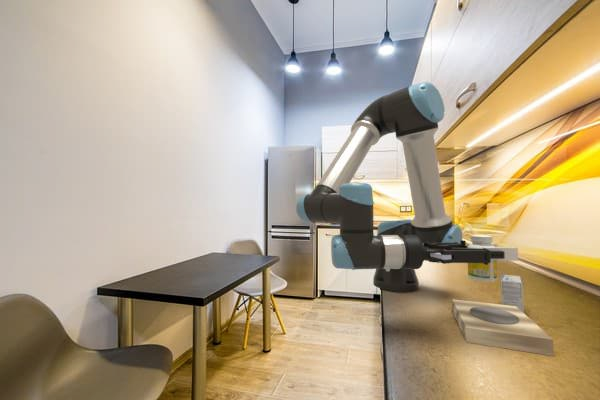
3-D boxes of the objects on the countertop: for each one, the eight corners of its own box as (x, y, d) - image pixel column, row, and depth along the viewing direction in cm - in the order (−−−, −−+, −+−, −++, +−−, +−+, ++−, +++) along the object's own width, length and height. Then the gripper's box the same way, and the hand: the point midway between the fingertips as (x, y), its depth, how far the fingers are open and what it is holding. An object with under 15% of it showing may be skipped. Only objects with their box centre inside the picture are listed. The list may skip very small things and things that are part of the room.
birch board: (452, 310, 72) (452, 297, 72) (516, 318, 66) (515, 304, 66) (466, 342, 55) (466, 325, 55) (553, 355, 50) (553, 337, 50)
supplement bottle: (480, 282, 56) (478, 237, 57) (462, 276, 62) (461, 234, 62) (503, 281, 57) (502, 236, 57) (484, 275, 62) (483, 234, 63)
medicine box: (524, 317, 67) (523, 282, 67) (501, 313, 70) (500, 279, 70) (522, 307, 73) (521, 276, 74) (501, 304, 76) (501, 273, 76)
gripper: (388, 260, 69) (480, 260, 68) (416, 279, 51) (542, 279, 50) (388, 231, 70) (479, 230, 69) (415, 240, 51) (540, 239, 50)
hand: (505, 251), depth 59 cm, fingers closed on supplement bottle, 5 cm apart
